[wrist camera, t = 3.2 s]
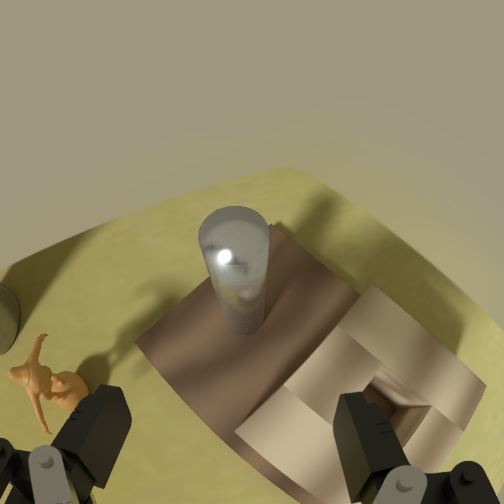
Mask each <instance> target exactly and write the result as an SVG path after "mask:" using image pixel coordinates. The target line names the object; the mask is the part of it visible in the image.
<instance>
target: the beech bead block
mask: <svg viewBox="0 0 504 504" xmlns="http://www.w3.org/2000/svg"><path fill="white" fill-rule="evenodd" d="M367 385H368V386H370V387H371V388H372V389H373V390H375V391H376V392H377V393H378V394H379V395H381V396H382V397H383V398H384V399H385V400H387V401H388V402H389V403H390V404H392V405H393V406H394V407H395V408H396V410H395V412H394V413H393V415H392V416H391V417H390V419H389V421H390V423H391V425H392V427H393V429H394V432H395V433H396V436H397V438H398V440H399V442H400V444H401V446H402V448H403V451H404V453H405V455H406V457H407V459H408V461H409V463H410V464H411V466H414V467H417V468H419V469H421V470H422V471H423V472H424V473H437V472H438V471H439V469H440V468H441V467H442V465H443V464H444V462H445V461H446V459H447V458H448V456H449V455H450V453H451V452H452V450H453V449H454V447H455V445H456V444H457V442H458V440H459V439H460V437H461V435H462V434H463V432H464V430H465V428H466V427H467V425H468V423H469V421H470V419H471V417H472V416H473V414H474V412H475V410H476V408H477V406H478V404H479V402H480V400H481V397H482V395H483V393H484V391H485V389H486V385H485V384H484V383H483V382H482V381H481V380H480V379H479V378H478V377H477V376H476V375H475V374H474V373H473V372H472V371H471V370H470V369H469V368H468V367H467V366H466V365H465V364H464V363H463V362H462V361H460V360H459V359H458V358H457V357H456V356H455V355H454V354H453V353H452V352H451V351H450V350H449V349H447V348H446V347H445V346H444V345H443V344H442V343H441V342H440V341H439V340H438V339H436V338H435V337H434V336H433V335H432V334H431V333H430V332H429V331H427V330H426V329H425V328H424V327H423V326H422V325H421V324H420V323H418V322H417V321H416V320H415V319H414V318H413V317H411V316H410V315H409V314H408V313H407V312H406V311H405V310H403V309H402V308H401V307H400V306H399V305H397V304H396V303H395V302H394V301H393V300H392V299H390V298H389V297H388V296H387V295H386V294H384V293H383V292H382V291H381V290H380V289H378V288H377V287H376V286H375V285H374V284H372V283H371V284H370V285H369V286H368V287H367V288H366V290H365V291H364V292H363V293H362V295H361V296H360V297H359V298H358V299H357V301H356V302H355V303H354V304H353V305H352V307H351V308H350V309H349V310H348V311H347V313H346V314H345V315H344V316H343V317H342V319H341V320H340V321H339V322H338V323H337V325H336V326H335V327H334V328H333V329H332V331H331V332H330V333H329V334H328V335H327V336H326V338H325V339H324V340H323V341H322V342H321V343H320V344H319V346H318V347H317V348H316V349H315V350H314V351H313V352H312V353H311V354H310V356H309V357H308V358H307V359H306V360H305V361H304V362H303V363H302V364H301V365H300V366H299V367H298V368H297V370H296V371H295V372H294V373H293V374H292V375H291V376H290V377H289V378H288V379H287V380H286V381H285V382H284V383H283V384H282V385H281V386H280V387H279V388H278V389H277V390H276V391H275V392H274V393H273V394H272V395H271V396H270V397H269V398H268V399H267V400H266V401H265V402H264V403H263V404H262V405H261V406H260V407H259V408H257V409H256V410H255V411H254V412H253V413H252V414H251V415H250V416H249V417H248V418H247V419H246V420H244V421H243V422H242V423H241V424H240V425H239V426H238V427H237V429H236V430H235V431H234V432H235V433H236V434H237V435H239V436H240V437H241V438H242V439H243V440H244V441H245V442H246V443H247V444H249V445H250V446H251V447H252V448H253V449H254V450H255V451H257V452H258V453H259V454H260V455H261V456H263V457H264V458H265V459H266V460H267V461H269V462H270V463H271V464H272V465H274V466H275V467H276V468H277V469H279V470H280V471H281V472H282V473H284V474H285V475H286V476H288V477H289V478H290V479H292V480H293V481H294V482H296V483H297V484H298V485H300V486H301V487H302V488H304V489H305V490H307V491H308V492H310V493H311V494H312V495H314V496H315V497H317V498H318V499H320V500H321V501H323V502H324V503H326V504H351V502H350V498H349V493H348V489H347V485H346V481H345V477H344V473H343V469H342V466H341V462H340V458H339V454H338V450H337V446H336V442H335V439H334V435H333V420H334V416H335V412H336V408H337V404H338V400H339V396H340V394H344V393H352V392H359V391H361V392H362V391H363V390H364V389H365V387H366V386H367ZM354 504H361V502H358V503H354Z"/></svg>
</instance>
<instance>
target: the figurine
mask: <svg viewBox="0 0 504 504" xmlns="http://www.w3.org/2000/svg"><path fill="white" fill-rule="evenodd" d="M46 336H48V335H47V334H41V335H40V336H39V337H38V338H37V340H36V342H35V344H34V346H33V349H32V353H31V354H30V356H29V358H28V360H27V362H26V363H25V364H24V365H22V366H19V367H13V368H11V369H10V370H9V371H8V374H9V376H10V377H11V378H12V379H13V380H14V381H16V382H17V383H19V384H21V385H22V386H23V387H24V388H25V390H26V391H27V393H28V395H29V397H30V399H31V401H32V403H33V407H34V410H35V413H36V415H37V418H38V420H39V422H40V423H41V426H42V428H43V429H44V430H45V432H47V433H48V434H52V433H50V432H49V430H48V427H47V424H46V422H45V420H44V416H43V412H42V408H41V405H40V401H39V395H40V394H41V396H42V398H43V399H45V400H51V399H54V401H55V402H56V403H57V404H58V405H59V406H60V407H61V408H63V409H65V410H68V411H74V409H75V407H76V406H77V405H78V403H79V402H80V400H82V399H83V398H85V397H86V396H87V395H89V393H88V388H87V385H86V383H85V382H84V380H83V379H82V378H81V377H80V376H79V375H77V374H75V373H73V372H69V371H64V372H60V373H58V374H54V373H53V374H52V372H51V369H50V368H49V367H47V366H41V365H40V364H39V362H38V357H39V353H40V349H41V345H42V342H43V340H44V338H45V337H46Z"/></svg>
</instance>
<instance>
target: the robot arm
mask: <svg viewBox="0 0 504 504" xmlns="http://www.w3.org/2000/svg"><path fill="white" fill-rule="evenodd" d="M19 318H20V314H19V304H18V301H17V299H16V297H15V295H14V294H13V293H12V292H10V291H9V290H8V289H6V288H5V285H3V284H2V283H1V282H0V355H1V354H3V353H5V352H6V351H7V350H8V349H9V348H10V346H11V345H12V343H13V341H14V339H15V336H16V334H17V330H18V326H19ZM131 422H132V418H131V413H130V410H129V408H128V405H127V403H126V400H125V397H124V394H123V391H122V389H121V388H120V387H116V386H111V385H106V384H101V385H99V387H98V388H97V390H96V391H95V393H94V394H89V395H87V396H86V397H85V398H83V399H82V400H80V402H79V403H78V405H77V406H76V407H75V409H74V412H72V413H71V415H70V416H69V419H67V421H66V422H65V424H64V425H63V427H62V428H61V430H60V431H59V433H58V435H57V436H56V438H55V439H54V441H53V442H52V444H51V445H50V446H49V445H42V446H39V447H37V448H35V449H34V450H33V451H32V452H29V451H22V450H17V449H14V447H13V446H12V445H11V443H10V442H9V441H8V440H6V439H4V438H0V499H1V497H2V495H3V493H4V491H5V489H6V487H7V485H8V483H10V484H11V485H12V486H13V487H12V489H11V491H10V493H9V495H8V497H7V499H6V502H5V504H97V503H96V501H95V498H94V495H93V493H92V492H91V490H92V488H93V486H96V487H99V488H102V489H104V488H105V486H106V483H107V481H108V479H109V476H110V474H111V471H112V469H113V467H114V464H115V462H116V460H117V457H118V455H119V453H120V450H121V448H122V446H123V443H124V441H125V439H126V437H127V434H128V432H129V430H130V427H131ZM333 435H334V439H335V442H336V446H337V450H338V454H339V458H340V462H341V466H342V469H343V473H344V477H345V481H346V485H347V489H348V493H349V498H350V502H351V504H354V503H358V502H361V504H500V502H499V500H498V498H497V496H496V494H495V492H494V489H493V487H492V485H491V483H490V481H489V479H488V477H487V475H486V473H485V471H484V469H483V468H482V467H481V465H479V464H478V463H476V462H473V461H464V462H461V463H459V464H457V465H456V466H455V467H454V468H453V469H452V471H450V472H441V473H424V472H423V471H422V470H421V469H419V468H417V467H414V466H411V464H410V463H409V461H408V459H407V457H406V455H405V453H404V451H403V448H402V446H401V444H400V442H399V440H398V438H397V436H396V433H395V432H394V429H393V427H392V425H391V423H390V421H389V419H388V417H387V415H386V413H385V411H384V410H383V409H382V408H381V407H380V406H378V405H377V404H376V403H370V404H367V401H366V399H365V397H364V395H363V393H362V392H361V391H359V392H352V393H344V394H340V396H339V400H338V404H337V408H336V412H335V416H334V420H333Z"/></svg>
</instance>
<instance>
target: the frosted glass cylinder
mask: <svg viewBox="0 0 504 504" xmlns="http://www.w3.org/2000/svg"><path fill="white" fill-rule="evenodd" d="M198 239H199V244H200V247H201V251H202V254H203V257H204V260H205V263H206V266H207V269H208V272H209V275H210V278H211V281H212V284H213V287H214V290H215V293H216V296H217V299H218V302H219V305H220V307H221V310H222V313H223V316H224V319H225V322H226V324H227V326H228V328H229V329H230V330H231V331H232V332H234V333H235V334H238V335H242V336H246V335H251V334H253V333H255V332H256V331H258V330H259V329H260V327H261V326H262V324H263V320H264V307H265V293H266V279H267V265H268V250H269V228H268V225H267V222H266V221H265V219H264V218H263V217H262V216H261V215H260V214H259V213H258V212H256V211H254V210H252V209H250V208H247V207H243V206H229V207H224V208H221V209H218V210H216V211H214V212H213V213H211V214H210V215H209V216H208V217H207V218H206V219H205V220H204V221H203V223H202V225H201V227H200V230H199V234H198Z"/></svg>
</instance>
